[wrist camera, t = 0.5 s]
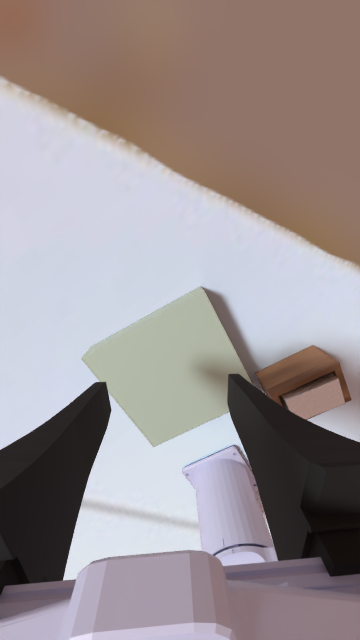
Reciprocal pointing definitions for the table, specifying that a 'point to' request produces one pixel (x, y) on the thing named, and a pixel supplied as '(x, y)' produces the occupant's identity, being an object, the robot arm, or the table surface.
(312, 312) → the table surface
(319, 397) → the lid plate
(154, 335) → the stand
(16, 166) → the table surface
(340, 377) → the brown box
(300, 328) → the table surface
